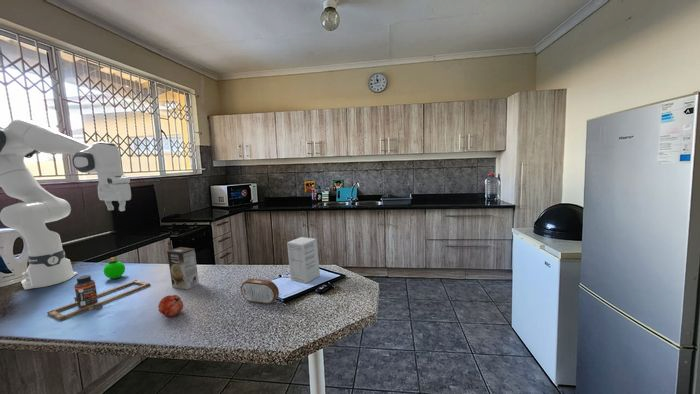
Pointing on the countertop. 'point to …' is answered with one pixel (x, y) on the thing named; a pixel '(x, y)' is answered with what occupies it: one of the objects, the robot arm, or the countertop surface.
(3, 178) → the robot arm
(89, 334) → the countertop surface
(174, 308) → the red round fruit
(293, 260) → the supplement box
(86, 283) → the supplement bottle
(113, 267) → the ornament
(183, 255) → the coffee box
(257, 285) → the tin
